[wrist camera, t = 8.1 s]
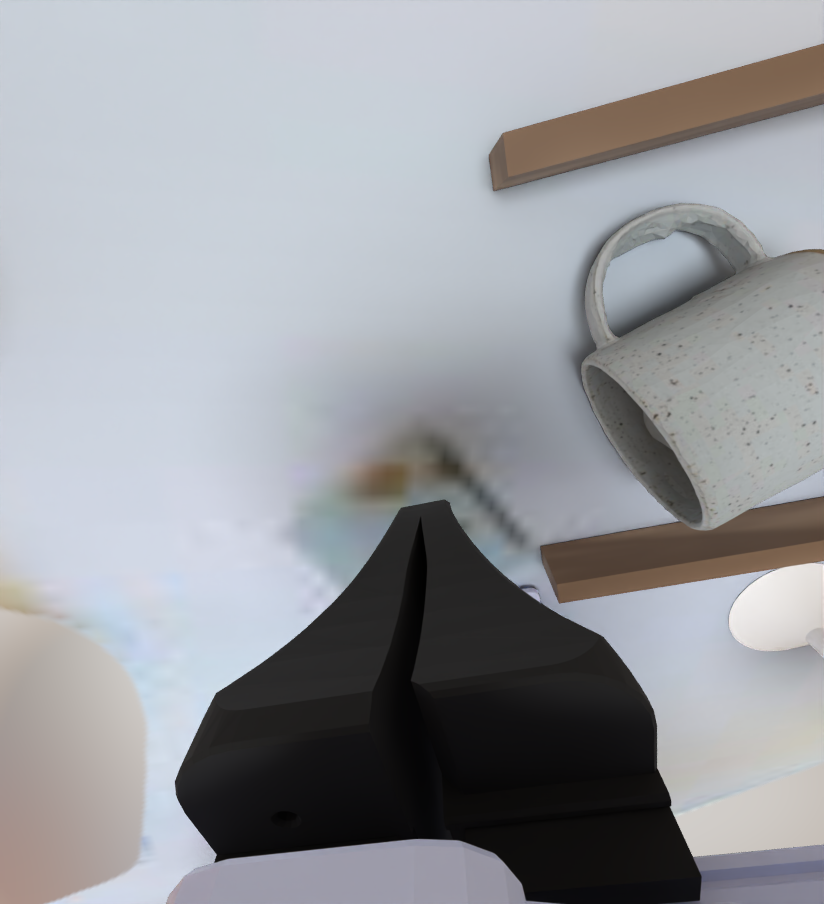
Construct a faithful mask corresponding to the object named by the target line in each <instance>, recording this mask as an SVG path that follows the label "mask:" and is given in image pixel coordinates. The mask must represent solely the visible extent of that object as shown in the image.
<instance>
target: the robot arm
mask: <svg viewBox="0 0 824 904" xmlns="http://www.w3.org/2000/svg"><path fill="white" fill-rule="evenodd" d="M175 788H176V796H177V799H178V801H179V803H180V805H181V806H182V808H183V810H184V812H185V814H186V815H187V816H188V818H189V819H190V820H191V822H192V823H193V824H194V826H195V827H196V828H197V829H198V831H199V832H200V833H201V835H202V836H203V837H204V838H205V840H206V841H207V842H208V844H209V845H210V846H211V848H212V849H213V850H214V851H215V853H216V854H217V856H216V859H215V862H214V863H213V864H209V865H206V866H202V867H199V868H196V869H194V870H193V871H191V872H190V873H188V874H187V875H186V876H184V877H183V879H182V880H181V881H180V882H179V884H178V885H177V886H176V887H175V888H174V890H173V891H172V892H171V893H170V895H169V897H168V899H167V902H166V904H824V845H815V846H804V847H793V848H783V849H772V850H763V851H751V852H741V853H731V854H720V855H710V856H699V857H693V856H692V854H691V852H690V850H689V848H688V846H687V843H686V841H685V839H684V837H683V835H682V832H681V830H680V828H679V826H678V824H677V822H676V819H675V817H674V815H673V813H672V811H671V808H670V806H671V798H670V795H669V792H668V790H667V788H666V786H665V784H664V782H663V779H662V777H661V775H660V773H659V771H658V769H657V724H656V719H655V714H654V710H653V708H652V706H651V704H650V702H649V700H648V698H647V696H646V695H645V693H644V691H643V690H642V688H641V687H640V685H639V684H638V682H637V681H636V679H635V678H634V676H633V675H632V673H631V672H630V670H629V669H628V668H627V666H626V665H625V664H624V662H623V661H622V659H621V658H620V657H619V656H618V654H617V653H616V652H615V651H614V649H613V648H612V647H611V646H610V644H609V643H608V642H607V641H606V640H605V638H604V637H602V636H601V635H599V634H597V633H595V632H593V631H591V630H589V629H587V628H585V627H583V626H581V625H579V624H577V623H575V622H573V621H570V620H568V619H566V618H564V617H562V616H561V615H559V614H557V613H556V612H554V611H552V610H551V609H549V608H547V607H546V606H544V605H543V604H542V603H541V602H540V596H539V594H538V591H537V590H536V589H534V588H525V589H520V588H519V587H518V586H516V585H515V584H514V583H513V582H512V581H510V580H509V579H508V578H507V577H506V576H504V575H503V574H502V573H501V572H500V571H499V570H498V569H497V568H496V567H495V566H494V565H493V564H492V563H491V562H490V561H489V560H488V559H487V558H486V557H485V556H484V555H483V554H482V553H481V552H480V551H479V549H478V548H477V547H476V546H475V545H474V544H473V542H472V541H471V540H470V538H469V537H468V536H467V534H466V533H465V532H464V530H463V529H462V528H461V526H460V524H459V523H458V521H457V519H456V518H455V516H454V514H453V512H452V510H451V506H450V502H448V501H446V500H440V501H434V502H429V503H424V504H419V505H413V506H408V507H403V508H401V509H400V510H399V512H398V513H397V515H396V517H395V518H394V520H393V522H392V524H391V525H390V527H389V529H388V530H387V532H386V534H385V535H384V537H383V539H382V540H381V542H380V543H379V545H378V546H377V548H376V550H375V551H374V553H373V554H372V556H371V557H370V559H369V560H368V561H367V563H366V564H365V565H364V567H363V568H362V569H361V571H360V572H359V573H358V575H357V576H356V577H355V579H354V580H353V581H352V582H351V583H350V585H349V586H348V587H347V588H346V589H345V590H344V591H343V592H342V594H341V595H340V596H339V597H338V598H337V599H336V600H335V601H334V602H333V603H332V604H331V605H330V606H329V607H328V608H327V609H326V610H325V611H324V612H323V613H322V614H321V615H320V616H319V617H317V618H316V619H315V620H314V621H313V622H312V623H311V624H310V625H309V626H308V627H307V628H306V629H305V630H303V631H302V632H301V633H300V634H299V635H297V636H296V637H295V638H294V639H293V640H291V641H290V642H289V643H288V644H286V645H285V646H284V647H283V648H281V649H280V650H279V651H277V652H276V653H275V654H273V655H272V656H271V657H269V658H268V659H267V660H265V661H264V662H263V663H261V664H260V665H258V666H257V667H255V668H254V669H252V670H251V671H249V672H248V673H246V674H245V675H243V676H242V677H240V678H239V679H237V680H236V681H234V682H233V683H231V684H230V685H228V686H227V687H225V688H224V689H222V690H220V691H219V692H217V693H216V695H215V696H214V698H213V700H212V702H211V704H210V706H209V708H208V710H207V712H206V714H205V716H204V718H203V720H202V722H201V724H200V727H199V729H198V731H197V733H196V735H195V737H194V739H193V742H192V744H191V746H190V748H189V750H188V752H187V754H186V757H185V759H184V761H183V763H182V765H181V767H180V770H179V772H178V775H177V777H176V780H175Z"/></svg>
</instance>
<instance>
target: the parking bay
mask: <svg viewBox="0 0 824 904" xmlns="http://www.w3.org/2000/svg"><path fill="white" fill-rule="evenodd" d="M821 104H824V44H821V45H817V46H813V47H810V48H806V49H803V50H799V51H796V52H792V53H788V54H785V55H781V56H778V57H774V58H770V59H767V60H763V61H760V62H756V63H752V64H749V65H745V66H742V67H738V68H735V69H731V70H727V71H724V72H720V73H717V74H713V75H709V76H706V77H702V78H699V79H695V80H691V81H688V82H684V83H681V84H677V85H674V86H670V87H666V88H663V89H659V90H656V91H652V92H648V93H645V94H641V95H638V96H634V97H630V98H627V99H623V100H620V101H616V102H613V103H609V104H605V105H602V106H598V107H595V108H591V109H587V110H584V111H580V112H577V113H573V114H569V115H566V116H562V117H559V118H555V119H552V120H548V121H544V122H541V123H537V124H534V125H530V126H526V127H523V128H519V129H516V130H512V131H509V132H505V133H503V134H502V135H501V137H500V138H499V140H498V141H497V143H496V145H495V146H494V148H493V149H492V151H491V152H490V154H489V162H490V169H491V177H492V184H493V191H497V190H501V189H504V188H508V187H512V186H516V185H519V184H523V183H527V182H531V181H534V180H538V179H542V178H546V177H550V176H553V175H557V174H561V173H565V172H568V171H572V170H576V169H580V168H584V167H587V166H591V165H595V164H599V163H602V162H606V161H610V160H614V159H618V158H621V157H625V156H629V155H633V154H636V153H640V152H644V151H648V150H652V149H655V148H659V147H663V146H667V145H670V144H674V143H678V142H682V141H685V140H689V139H693V138H697V137H701V136H704V135H708V134H712V133H716V132H719V131H723V130H727V129H731V128H735V127H738V126H742V125H746V124H750V123H753V122H757V121H761V120H765V119H769V118H772V117H776V116H780V115H784V114H787V113H791V112H795V111H799V110H802V109H806V108H810V107H814V106H818V105H821ZM541 554H542V561H543V565H544V568H545V570H546V573H547V575H548V578H549V580H550V583H551V585H552V587H553V590H554V592H555V595H556V597H557V600H558V602H559V603H565V602H571V601H577V600H583V599H590V598H596V597H602V596H608V595H615V594H621V593H627V592H633V591H639V590H646V589H652V588H658V587H664V586H671V585H677V584H683V583H689V582H696V581H702V580H708V579H714V578H721V577H727V576H733V575H739V574H746V573H752V572H758V571H764V570H770V569H777V568H783V567H789V566H795V565H802V564H808V563H814V562H820V561H824V497H819V498H814V499H808V500H802V501H797V502H791V503H785V504H779V505H774V506H768V507H762V508H757V509H751V510H747V511H745V512H743V513H742V514H740V515H738V516H736V517H735V518H733V519H731V520H729V521H728V522H726V523H724V524H722V525H720V526H718V527H716V528H715V529H712V530H695V529H692V528H690V527H689V526H687V525H686V524H684V523H683V522H677V523H671V524H665V525H659V526H654V527H648V528H642V529H637V530H631V531H625V532H619V533H614V534H608V535H602V536H597V537H591V538H585V539H579V540H574V541H568V542H562V543H557V544H551V545H545V546H541Z"/></svg>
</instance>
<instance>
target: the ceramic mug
mask: <svg viewBox="0 0 824 904" xmlns="http://www.w3.org/2000/svg"><path fill="white" fill-rule="evenodd" d="M675 230H683V231H686V232H690V233H693V234H696V235H699V236H701V237H703V238H704V239H706V240H707V241H708V242H709V243H710V244H711V245H713V246H716V247H717V248H718V250H719V251H720V252H721V253H722V254H723V255H724V256H725V257H726V258H727V259H728V261H729V263H730V264H731V266H732V267H733V268H734V270H735V272H736V274H735V275H733V276H732V277H730V278H728V279H726V280H724V281H722V282H720V283H718V284H716V285H715V286H713V287H711V288H710V289H708V290H706V291H704V292H702V293H700V294H698V295H695V296H693V298H692V299H691V300H690V301H688V302H686V303H684V304H682V305H681V306H679V307H677V308H675V309H673V310H671V311H669V312H667V313H665V314H663V315H661V316H659V317H657V318H655V319H653V320H651V321H649V322H647V323H645V324H644V325H642V326H640V327H638V328H636V329H634V330H633V331H631V332H629V333H627V334H625V335H623V336H622V337H620V338H619V337H617V336H614V334H613V333H612V332H611V330H610V328H609V326H608V323H607V315H606V313H605V308H604V301H603V294H602V292H603V282H604V279H605V275H606V271H607V268H608V266H609V265H610V261H611V260H612V259H613V258H616V257H618V256H620V255H622V254H624V253H626V252H628V251H630V250H631V249H633V248H635V247H637V246H639V245H641V244H644V243H646V242H649V241H651V240H654V239H665V238H666V237H668V236H669V235H671V234H672V233H673V232H674V231H675ZM585 310H586V316H587V321H588V325H589V328H590V332H591V335H592V338H593V340H594V342H595V344H596V348H597V350H596V351H594V352H593V353H591V354H590V355H589V356H587V357H586V358H585V359H584V361H583V363H582V365H581V368H582V369H581V375H582V381H583V386H584V390H585V392H586V394H587V396H588V398H589V401H590V403H591V406H592V409H593V411H594V413H595V415H596V417H597V419H598V421H599V422H600V424H601V426H602V428H603V430H604V432H605V434H606V435H607V436H608V438H609V440H610V442H611V443H612V445H613V446H614V447H615V449H616V450H617V452H618V453H619V455H620V457H621V458H622V460H623V461H624V462H625V464H626V465H627V466H628V468H629V469H630V470H631V472H632V473H633V475H634V476H635V477H636V479H637V480H638V481H639V482H640V483H641V484H642V485H643V486H644V487H645V488H646V490H647V491H648V492H649V493H650V494H651V495H652V496H653V497H654V498H655V499H656V500H657V502H659V503H660V504H661V505H662V506H663V507H664V508H665V509H666V510H667V511H669V512H670V513H671V514H672V515H673V516H674V517H676V518H677V519H678V520H679V521H681V522H683V523H684V524H686V525H687V526H689V527H690V528H692V529H695V530H712V529H715V528H716V527H718V526H720V525H722V524H724V523H726V522H728V521H729V520H731V519H733V518H735V517H736V516H738V515H740V514H742V513H743V512H745V511H747V510H749V509H750V508H752V507H754V506H755V505H757V504H759V503H761V502H763V501H765V500H767V499H768V498H770V497H772V496H774V495H776V494H778V493H780V492H781V491H783V490H785V489H787V488H789V487H791V486H793V485H795V484H797V483H799V482H801V481H803V480H804V479H806V478H808V477H810V476H811V475H813V474H815V473H817V472H818V471H820V470H822V469H824V250H822V249H808V250H802V251H796V252H791V253H788V254H785V255H782V256H778V257H775V258H771V257H767V256H766V255H765V254H764V252H763V249H762V245H761V244H760V243H759V242H758V241H757V239H756V237H755V235H754V234H753V233H752V232H751V231H750V230H748V228H747V227H746V226H745V225H744V224H743V223H742V222H741V221H740V220H738V219H737V218H735V217H733V216H732V215H730V214H729V213H727V212H726V211H724V210H722V209H719V208H717V207H713V206H708V205H702V204H685V203H679V204H674V205H670V206H666V207H661V208H658V209H655V210H653V211H650V212H648V213H646V214H644V215H642V216H640V217H638V218H636V219H634V220H632V221H630V222H629V223H627V224H625V225H624V226H623V227H622V228H620V229H619V230H618V231H617V232H616V233H614V234H613V235H612V236H611V237H610V238H609V239H608V240H607V242H606V243H605V245H604V246H603V248H602V249H601V251H600V253H599V254H598V256H597V258H596V260H595V262H594V264H593V266H592V267H591V270H590V273H589V276H588V280H587V284H586V289H585Z"/></svg>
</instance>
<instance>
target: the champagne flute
mask: <svg viewBox="0 0 824 904" xmlns="http://www.w3.org/2000/svg"><path fill="white" fill-rule="evenodd" d="M729 628H730V631H731V633H732V635H733V636H734V637H735V639H736V640H737V641H738V642H740V643H741V644H743V645H744V646H746V647H749V648H752V649H755V650H761V651H781V650H788V649H792V648H797V647H802V646H806V645H811V646H812V647H813V648H814V649H815V650H816V651H817V652H818V653H819V654H820V655H821V656H822V657H823V658H824V564H819V563H808V564H802V565H795V566H789V567H783V568H780V569H777V570H775V571H772V572H770V573H768V574H766V575H764V576H762V577H761V578H759V579H757V580H756V581H755V582H753V583H752V584H751V585H749V586H748V587H747V588H746V589H745V590H744V591H743V592H742V593H741V594H740V595H739V596H738V598H737V599H736V601H735V602H734V604H733V606H732V608H731V611H730V615H729Z"/></svg>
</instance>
